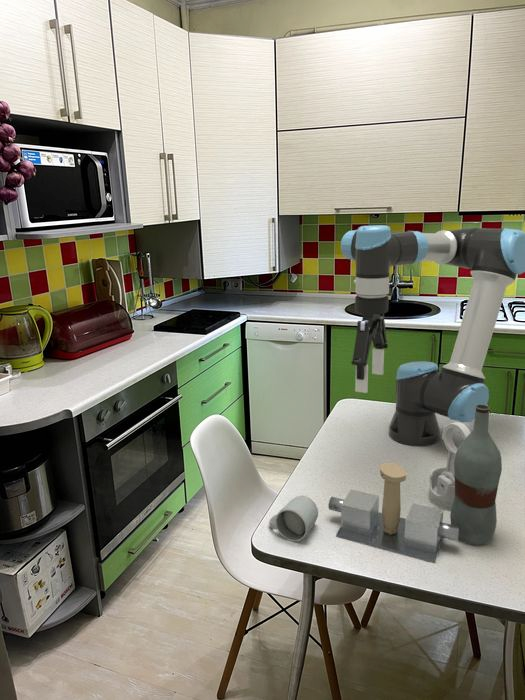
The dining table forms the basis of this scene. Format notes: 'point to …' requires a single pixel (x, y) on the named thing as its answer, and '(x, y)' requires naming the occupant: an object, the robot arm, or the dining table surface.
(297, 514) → the ceramic mug
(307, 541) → the dining table surface
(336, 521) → the dining table surface
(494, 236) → the robot arm
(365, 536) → the shaft bed
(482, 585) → the dining table surface
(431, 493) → the engine component
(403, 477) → the handle
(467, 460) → the bottle
